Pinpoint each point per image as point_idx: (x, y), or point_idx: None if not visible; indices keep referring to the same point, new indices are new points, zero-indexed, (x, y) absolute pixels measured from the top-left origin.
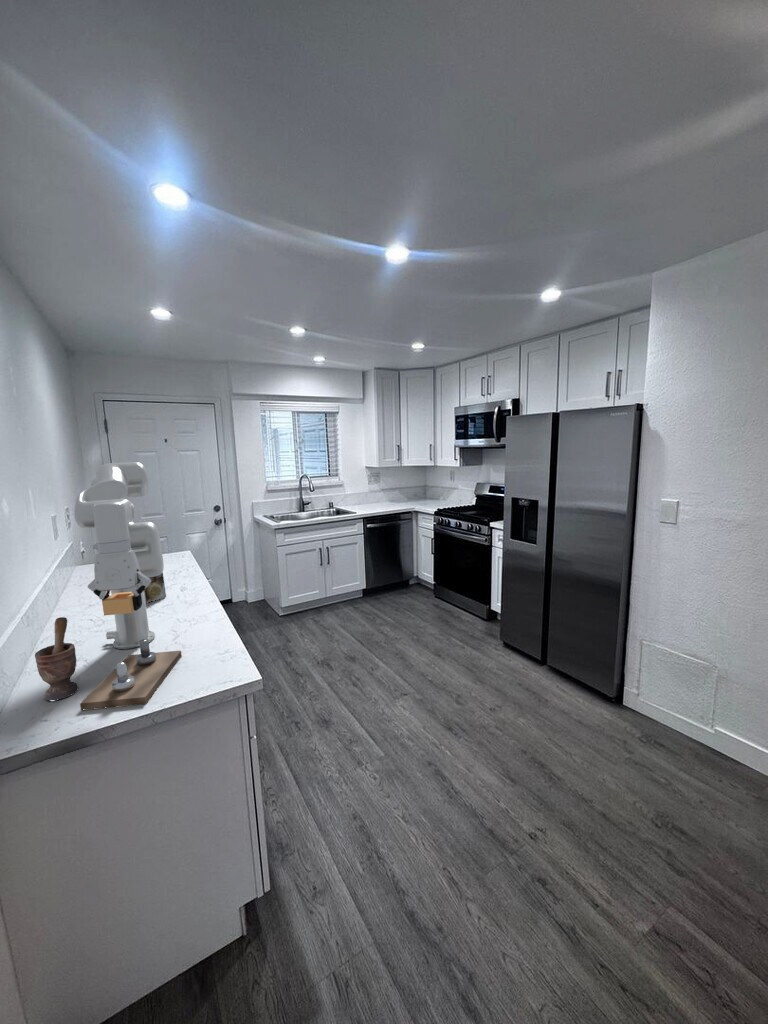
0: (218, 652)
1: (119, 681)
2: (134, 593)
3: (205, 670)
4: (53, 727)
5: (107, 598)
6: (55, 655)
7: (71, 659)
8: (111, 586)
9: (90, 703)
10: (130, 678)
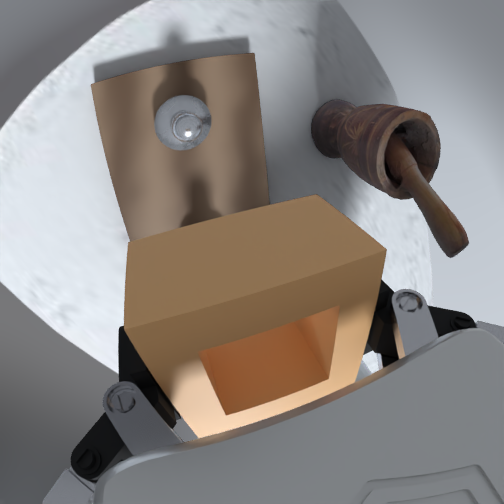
0: (78, 312)
1: (185, 110)
2: (134, 405)
3: (48, 240)
4: (268, 4)
5: (366, 310)
6: (395, 118)
7: (357, 144)
8: (382, 418)
9: (228, 55)
10: (168, 134)
